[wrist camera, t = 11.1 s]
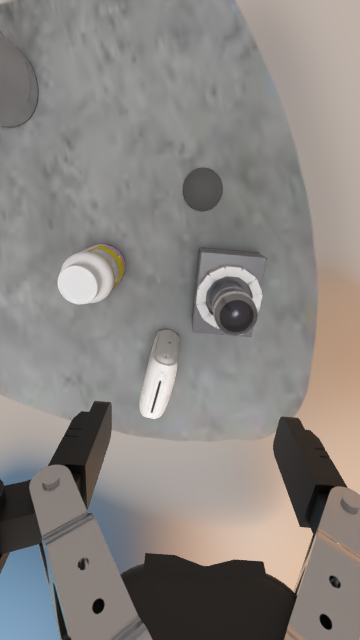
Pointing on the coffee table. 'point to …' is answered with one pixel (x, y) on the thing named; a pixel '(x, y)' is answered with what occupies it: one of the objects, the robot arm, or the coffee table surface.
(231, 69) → the coffee table surface
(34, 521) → the robot arm
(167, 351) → the photo printer
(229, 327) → the lens
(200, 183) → the lens cap
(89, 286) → the supplement bottle
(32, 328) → the coffee table surface
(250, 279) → the camera body
